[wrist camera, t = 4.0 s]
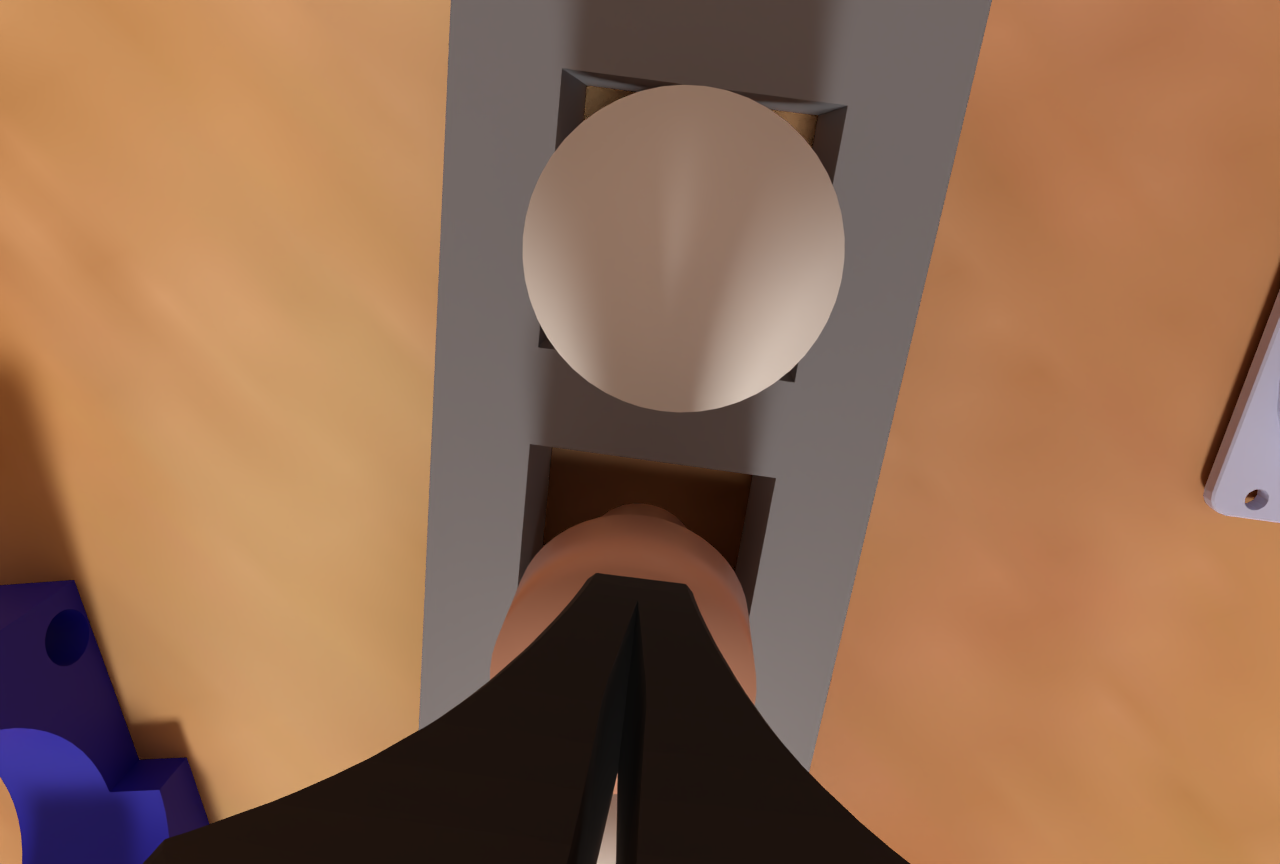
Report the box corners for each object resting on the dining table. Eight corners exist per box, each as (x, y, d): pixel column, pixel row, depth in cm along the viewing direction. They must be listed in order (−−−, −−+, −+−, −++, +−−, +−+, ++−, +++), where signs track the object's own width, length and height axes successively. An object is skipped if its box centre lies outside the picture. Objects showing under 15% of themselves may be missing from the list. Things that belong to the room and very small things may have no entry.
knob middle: (756, 475, 17) (778, 588, 13) (723, 652, 19) (733, 811, 14) (549, 446, 17) (499, 549, 13) (532, 625, 19) (482, 775, 14)
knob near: (820, 123, 15) (876, 107, 10) (777, 355, 16) (810, 431, 12) (583, 92, 15) (536, 63, 10) (560, 326, 16) (510, 390, 12)
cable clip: (243, 906, 26) (117, 1115, 20) (111, 910, 27) (-47, 1115, 21) (129, 573, 22) (-62, 714, 17) (-21, 583, 23) (-258, 725, 17)
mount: (933, 24, 17) (994, -9, 13) (747, 878, 24) (756, 992, 21) (500, -32, 17) (454, -78, 14) (448, 834, 24) (409, 940, 21)
